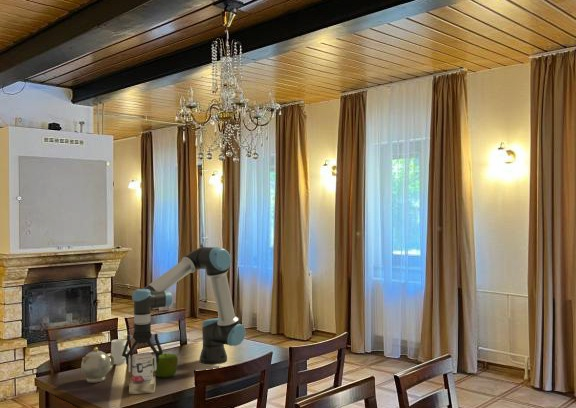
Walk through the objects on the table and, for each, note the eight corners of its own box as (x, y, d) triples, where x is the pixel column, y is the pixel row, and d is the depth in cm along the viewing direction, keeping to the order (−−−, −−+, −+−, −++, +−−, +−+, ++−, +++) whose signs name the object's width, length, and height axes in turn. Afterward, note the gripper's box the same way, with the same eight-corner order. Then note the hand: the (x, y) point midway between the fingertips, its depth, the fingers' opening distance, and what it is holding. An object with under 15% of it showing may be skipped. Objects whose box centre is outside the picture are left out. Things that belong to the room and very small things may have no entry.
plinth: (155, 384, 272) (155, 375, 273) (154, 392, 260) (154, 382, 260) (131, 385, 271) (131, 376, 271) (129, 394, 258) (129, 384, 258)
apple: (150, 374, 290) (150, 352, 290) (174, 371, 295) (174, 349, 295) (155, 381, 278) (155, 357, 279) (180, 377, 283) (180, 354, 283)
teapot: (91, 386, 270) (91, 351, 270) (74, 382, 278) (74, 348, 278) (122, 378, 284) (122, 344, 285) (105, 373, 292) (105, 341, 293)
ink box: (135, 382, 261) (135, 356, 261) (131, 379, 265) (131, 354, 265) (153, 379, 266) (153, 353, 266) (149, 376, 270) (149, 351, 270)
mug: (124, 365, 308) (124, 343, 308) (107, 363, 314) (107, 341, 314) (135, 362, 315) (134, 340, 316) (118, 360, 321) (118, 338, 321)
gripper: (168, 320, 272) (168, 367, 271) (117, 322, 268) (117, 370, 267) (167, 323, 264) (168, 371, 264) (115, 325, 260) (115, 374, 260)
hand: (142, 370), depth 265 cm, fingers open, 11 cm apart
